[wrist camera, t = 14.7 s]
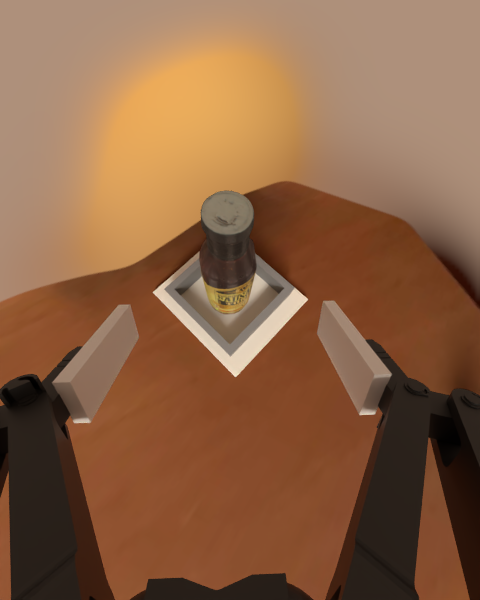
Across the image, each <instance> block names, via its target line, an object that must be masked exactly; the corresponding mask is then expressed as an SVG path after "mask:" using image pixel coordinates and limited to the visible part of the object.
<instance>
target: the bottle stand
mask: <svg viewBox="0 0 480 600" xmlns="http://www.w3.org/2000/svg"><path fill="white" fill-rule="evenodd" d="M199 253H200V251H199V252H198V253H197V254H196V255H195V256H194V257H192V258H191V259H190V260H189V261H188V262H187V263H186V264H184V265H183V266H182V267H181V268H180V269H179V270H178V271H176V272H175V273H174V274H173V275H172V276H171V277H170V278H169V279H167V280H166V281H165V282H164V283H163V284H162V285H161V286H159V287H158V288H157V289H156V290H155V291H154V292H153V293H154V294H155V295H156V296H157V297H158V298H159V299H160V300H161V301H162V302H163V303H164V304H165V305H166V306H167V307H168V308H169V309H170V310H171V311H172V312H173V314H174V315H175V316H176V317H177V318H178V319H179V320H180V321H181V322H182V323H183V324H184V325H185V326H186V327H187V328H188V329H189V330H190V331H191V332H192V333H193V334H194V335H195V336H196V337H197V338H198V339H199V340H200V341H201V342H202V343H203V344H204V345H205V346H206V347H207V348H208V349H209V351H210V352H211V353H212V354H213V355H214V356H215V357H216V358H217V359H218V360H219V361H220V362H221V363H222V364H223V365H224V366H225V367H226V368H227V369H228V370H229V371H230V372H231V373H232V374H233V375H234V376H235V377H236V376H237V375H238V374H239V373H240V372H241V371H242V370H243V369H244V368H245V367H246V366H247V365H248V364H249V362H250V361H251V360H252V359H253V358H254V357H255V356H256V355H257V354H258V353H259V352H260V351H261V350H262V348H263V347H264V346H265V345H266V344H267V343H268V342H269V341H270V340H271V339H272V338H273V337H274V336H275V334H276V333H277V332H278V331H279V330H280V329H281V328H282V327H283V326H284V325H285V324H286V323H287V321H288V320H289V319H290V318H291V317H292V316H293V315H294V314H295V313H296V312H297V311H298V310H299V309H300V307H301V306H302V305H303V304H304V303H305V302H306V301H307V300H308V299H307V298H306V297H305V296H304V295H303V294H301V293H300V292H299V291H298V290H297V289H296V288H295V287H293V286H292V285H291V284H290V283H289V282H288V281H286V280H285V279H284V278H283V277H282V276H281V275H280V274H278V273H277V272H276V271H275V270H274V269H273V268H271V267H270V266H269V265H268V264H267V263H266V262H265V261H263V260H262V259H261V258H260V257H259V256H258V255H257V254H255V257H256V263H257V268H256V273H255V276H254V281H253V285H252V289H251V293H250V297H249V300H248V302H247V304H246V305H245V307H244V308H243V309H242V310H240V311H239V312H237V313H235V314H227V315H225V314H222V313H219V312H218V311H216V310H215V309H214V308H213V307H212V305H211V304H210V302H209V300H208V297H207V293H206V289H205V285H204V282H203V278H202V274H201V267H200V261H199Z"/></svg>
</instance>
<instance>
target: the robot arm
mask: <svg viewBox="0 0 480 600" xmlns="http://www.w3.org/2000/svg"><path fill="white" fill-rule="evenodd" d="M317 334H318V336H319V338H320V340H321V342H322V344H323V346H324V348H325V350H326V352H327V354H328V355H329V357H330V359H331V361H332V363H333V365H334V367H335V369H336V371H337V373H338V375H339V377H340V379H341V380H342V382H343V384H344V386H345V388H346V390H347V392H348V394H349V396H350V398H351V400H352V402H353V403H354V405H355V407H356V409H357V411H358V413H359V415H373V414H375V413H376V410H377V408H378V407H379V408H380V410H381V411H382V413H383V414H382V417H381V419H380V421H379V423H378V426H377V428H378V429H377V433H376V436H375V440H374V443H373V446H372V450H371V453H370V456H369V460H368V463H367V467H366V470H365V473H364V477H363V480H362V483H361V487H360V490H359V494H358V497H357V500H356V504H355V507H354V510H353V514H352V517H351V521H350V524H349V527H348V531H347V534H346V537H345V541H344V544H343V547H342V551H341V554H340V558H339V561H338V564H337V568H336V571H335V573H334V576H333V579H332V581H331V584H330V587H329V590H328V593H327V596H326V599H325V600H419V596H418V594H417V592H416V590H415V585H414V579H415V568H416V558H417V547H418V537H419V527H420V517H421V506H422V496H423V486H424V476H425V465H426V455H427V445H428V437H429V438H430V439H431V443H432V447H433V451H434V455H435V460H436V464H437V468H438V472H439V476H440V480H441V484H442V488H443V492H444V496H445V500H446V504H447V508H448V512H449V516H450V520H451V524H452V528H453V533H454V537H455V541H456V545H457V549H458V553H459V557H460V561H461V565H462V569H463V573H464V577H465V581H466V585H467V589H468V593H469V597H470V600H480V396H479V395H478V394H476V393H474V392H471V391H469V390H466V389H454V390H453V391H452V392H451V394H450V395H445V394H441V393H436V392H432V391H430V390H429V389H428V387H426V386H425V385H424V384H423V383H421V382H419V381H417V380H414V379H411V378H408V377H407V376H406V375H405V374H404V372H403V371H402V370H401V369H400V368H399V366H398V365H397V364H396V363H395V362H394V361H393V359H391V357H390V356H389V355H388V354H387V353H386V351H385V350H384V349H383V348H382V347H381V345H379V344H378V343H376V342H375V341H373V340H365V339H364V338H363V337H362V336H361V334H360V333H359V332H358V330H357V329H356V328H355V327H354V325H353V324H352V323H351V322H350V320H349V319H348V318H347V316H346V315H345V314H344V313H343V311H342V310H341V309H340V308H339V306H338V305H337V304H336V302H335V301H323V305H322V310H321V315H320V320H319V326H318V331H317ZM138 338H139V335H138V332H137V328H136V324H135V321H134V317H133V313H132V309H131V306H130V305H118V306H117V308H116V309H115V310H114V311H113V312H112V313H111V315H110V316H109V317H108V318H107V319H106V320H105V322H104V323H103V324H102V325H101V326H100V327H99V329H98V330H97V331H96V332H95V333H94V334H93V336H92V337H91V338H90V339H89V340H88V341H87V342H86V344H85V345H84V346H82V347H76V348H75V349H74V350H72V351H71V352H69V353H68V354H67V355H66V356H65V357H64V358H63V359H62V361H61V362H60V363H59V364H58V365H57V367H55V368H54V369H53V370H52V372H51V373H50V374H49V375H48V376H47V377H46V378H45V379H44V380H43V381H42V383H41V381H40V379H39V378H38V376H37V375H34V374H27V375H23V376H20V377H17V378H15V379H13V380H11V381H9V382H8V383H6V384H5V385H4V386H3V387H2V388H1V389H0V399H1V400H2V402H3V403H4V404H5V405H3V406H0V497H1V493H2V490H3V487H4V483H5V480H6V477H7V473H8V470H9V510H10V559H11V600H115V599H114V596H113V593H112V591H111V589H110V586H109V584H108V581H107V579H106V575H105V572H104V568H103V564H102V560H101V556H100V552H99V548H98V544H97V540H96V536H95V533H94V529H93V525H92V521H91V517H90V513H89V509H88V505H87V501H86V497H85V493H84V490H83V486H82V482H81V478H80V474H79V470H78V466H77V462H76V458H75V454H74V451H73V447H72V443H71V439H70V435H69V431H68V427H67V425H66V424H65V422H66V421H67V419H68V418H69V416H71V418H72V420H73V421H74V423H91V421H92V419H93V417H94V416H95V414H96V412H97V410H98V409H99V407H100V405H101V403H102V402H103V400H104V398H105V396H106V395H107V393H108V391H109V389H110V388H111V386H112V384H113V382H114V380H115V379H116V377H117V375H118V373H119V372H120V370H121V368H122V366H123V365H124V363H125V361H126V359H127V358H128V356H129V354H130V352H131V351H132V349H133V347H134V345H135V343H136V342H137V340H138ZM130 600H313V599H312V598H311V597H310V596H309V595H307V594H306V593H305V592H303V591H302V590H301V589H299V588H297V587H295V586H294V585H291V584H289V583H287V581H286V574H285V573H282V574H259V575H251V576H248V577H246V578H244V579H242V580H240V581H237V582H235V583H233V584H231V585H229V586H227V587H224V588H222V589H220V590H213V589H210V588H208V587H205V586H202V585H200V584H197V583H195V582H192V581H189V580H187V579H184V578H164V579H148V583H147V588H146V590H144V591H142V592H140V593H139V594H137V595H136V596H134V597H133V598H131V599H130Z"/></svg>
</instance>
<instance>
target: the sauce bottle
mask: <svg viewBox="0 0 480 600" xmlns="http://www.w3.org/2000/svg"><path fill="white" fill-rule="evenodd" d="M253 222H254V210H253V206H252V205H251V202H250V201H249V200H248V199H247V198H246V197H245V196H243V195H241V194H239V193H237V192H233V191H220V192H217V193H215V194H213V195H212V196H210V197H208V198H207V199H206V200H205V201H204V203H203V205H202V209H201V225H202V228H203V230H204V232H205V233H206V236H207V238H206V240H205V241H204V243H203V244H202V246H201V250H200V253H199V261H200V267H201V274H202V278H203V282H204V285H205V289H206V293H207V297H208V300H209V302H210V304H211V305H212V307H213V308H214V309H215V310H216V311H218V312H219V313H222V314H225V315H227V314H235V313H237V312H239V311H240V310H242V309H243V308H244V307H245V305H246V304H247V302H248V300H249V297H250V293H251V289H252V285H253V281H254V276H255V273H256V268H257V263H256V257H255V250H254V243H253V240H252V239H250V238H249V234H250V232H251V230H252V228H253Z"/></svg>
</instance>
